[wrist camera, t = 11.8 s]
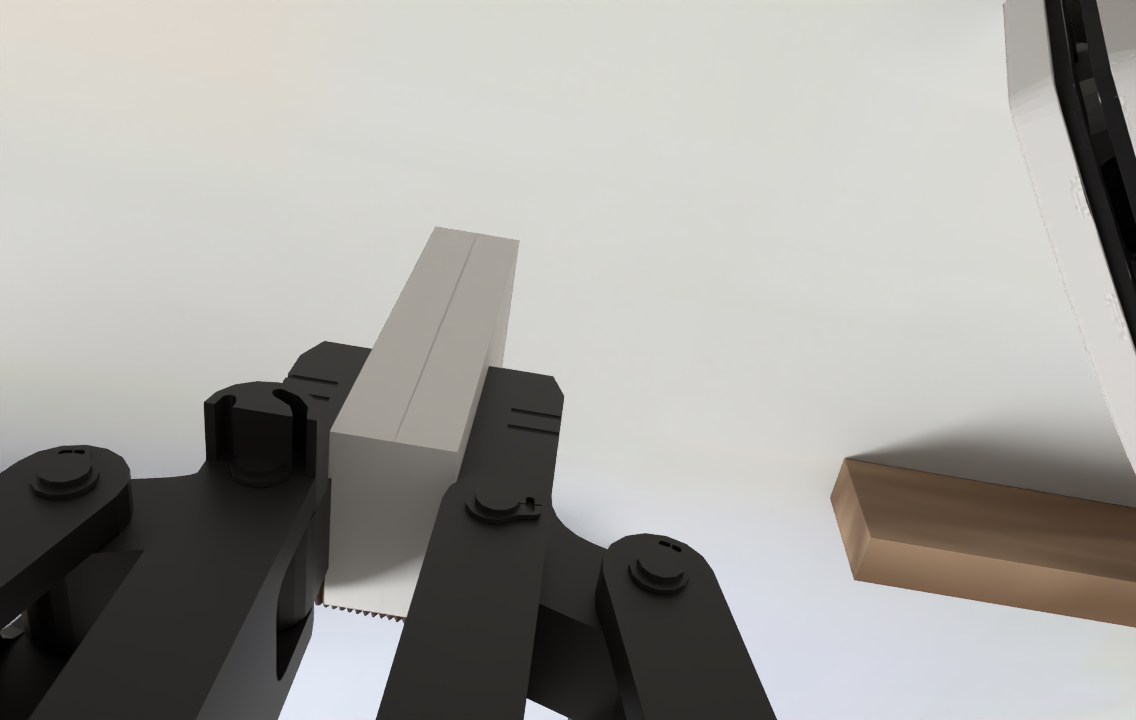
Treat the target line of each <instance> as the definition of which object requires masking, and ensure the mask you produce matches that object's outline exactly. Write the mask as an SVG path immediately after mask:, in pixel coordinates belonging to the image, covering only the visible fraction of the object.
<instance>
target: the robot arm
mask: <svg viewBox="0 0 1136 720" xmlns="http://www.w3.org/2000/svg"><path fill="white" fill-rule="evenodd" d="M518 247H519V240H513V239H507V238H501V237H495V236H489V235H483V234H477V233H471V232H466V231H460V230H454V229H448V228H442V227H435V228H434V230H433V232H432V234H431V236H430V238H429V240H428V242H427V244H426V246H425V248H424V250H423V252H422V254H421V256H420V258H419V259H418V261H417V263H416V265H415V267H414V269H413V271H412V273H411V275H410V277H409V279H408V281H407V283H406V285H405V287H404V288H403V290H402V292H401V294H400V296H399V298H398V300H397V302H396V304H395V306H394V308H393V310H392V312H391V314H390V316H389V318H388V319H387V321H386V323H385V325H384V327H383V329H382V331H381V333H380V335H379V337H378V339H377V341H376V343H375V345H374V347H373V348H372V349H370V348H363V347H357V346H351V345H345V344H339V343H333V342H327V341H324V342H322V343H320V344H318V345H317V346H315V347H313V348H312V349H310V350H308V351H307V352H305V353H303V354H301V355H300V356H299V358H298V359H297V361H296V363H295V364H294V366H293V367H292V369H291V370H290V372H289V373H288V378H285V379H284V381H283V383H278V382H260V381H256V382H249V383H242V384H235V385H233V386H230V387H227V388H225V389H222V390H220V391H217V392H216V393H214V394H213V395H212V396H211V397H210V398H208V399H207V400H206V401H205V402H204V419H205V441H206V461H205V463H204V464H203V466H202V467H201V469H200V470H199V471H198V473H195V474H191V475H187V476H178V477H169V478H148V479H131V475H130V468H129V467H128V465H127V464H126V462H125V460H124V459H123V457H121V456H119V455H118V454H116V453H114V452H112V451H110V450H108V449H105V448H100V447H94V446H89V445H74V446H60V447H56V448H52V449H47V450H43V451H39V452H37V453H35V454H32V455H30V456H28V457H26V458H24V459H22V460H20V461H18V462H16V463H15V464H13V465H12V466H10V467H9V468H7V469H6V470H4V471H3V472H1V473H0V720H278V717H279V715H280V712H281V710H282V707H283V705H284V702H285V700H286V698H287V695H288V693H289V690H290V688H291V685H292V683H293V680H294V678H295V675H296V673H297V670H298V668H299V665H300V663H301V660H302V658H303V655H304V653H305V650H306V648H307V645H308V643H309V640H310V638H311V636H312V629H313V621H314V601H315V599H316V596H317V594H318V592H319V589H320V587H321V584H322V582H323V580H324V577H325V585H324V604H326V605H333V606H339V607H345V608H351V609H358V610H364V611H370V612H376V613H383V614H389V615H395V616H401V617H406V620H405V624H404V627H403V630H402V634H401V637H400V640H399V644H398V647H397V650H396V654H395V657H394V660H393V664H392V667H391V670H390V674H389V677H388V680H387V684H386V687H385V690H384V694H383V697H382V700H381V704H380V707H379V710H378V714H377V717H376V720H524V713H525V705H526V698H527V699H530V700H532V701H534V702H536V703H538V704H540V705H542V706H544V707H547V708H549V709H551V710H553V711H555V712H557V713H559V714H561V715H564V716H566V717H568V720H777V719H776V716H775V714H774V712H773V709H772V707H771V705H770V702H769V700H768V698H767V695H766V693H765V691H764V688H763V686H762V684H761V681H760V679H759V677H758V674H757V672H756V670H755V667H754V665H753V663H752V660H751V658H750V656H749V653H748V651H747V649H746V646H745V644H744V642H743V639H742V637H741V635H740V632H739V630H738V628H737V625H736V623H735V621H734V618H733V616H732V614H731V611H730V609H729V607H728V604H727V602H726V600H725V597H724V595H723V593H722V590H721V588H720V586H719V583H718V581H717V579H716V576H715V574H714V572H713V570H712V569H711V567H710V566H709V564H708V563H707V562H706V560H705V559H704V557H703V556H702V555H700V554H699V553H698V552H696V551H695V550H694V549H692V548H691V547H690V546H688V545H687V544H685V543H682V542H680V541H677V540H675V539H672V538H670V537H667V536H662V535H654V534H647V533H644V534H637V535H630V536H625V537H623V538H621V539H620V540H618V541H616V542H614V543H612V544H611V545H610V547H609V548H608V549H605V548H603V547H600V546H598V545H595V544H593V543H591V542H589V541H587V540H585V539H583V538H581V537H579V536H577V535H576V534H574V533H573V532H572V531H571V530H569V529H568V528H567V527H565V526H564V524H563V523H562V522H561V521H560V520H559V518H558V517H557V516H556V513H555V511H554V509H553V507H552V497H551V495H552V487H553V479H554V471H555V464H556V456H557V448H558V441H559V433H560V425H561V417H562V410H563V402H564V395H563V393H562V391H561V389H560V388H559V386H558V384H557V382H556V381H555V379H554V377H553V376H548V375H541V374H535V373H529V372H523V371H517V370H511V369H505V368H502V364H503V356H504V349H505V342H506V334H507V327H508V320H509V313H510V305H511V298H512V291H513V283H514V276H515V269H516V261H517V254H518ZM20 614H21V615H22V616H20V617H19V618H18V619H17V620H16V621H15V622H13V623H12V624H11V625H10V626H8V627H6V628H4V627H5V626H7V625H8V624H9V623H10V622H11V621H12V620H14V619H15V618H16V617H17V616H18V615H20ZM3 628H4V629H3ZM2 629H3V630H2Z"/></svg>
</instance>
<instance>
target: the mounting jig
mask: <svg viewBox="0 0 1136 720" xmlns="http://www.w3.org/2000/svg"><path fill="white" fill-rule="evenodd" d="M830 499H831V503H832V506H833V509H834V513H835V516H836V520H837V523H838V526H839V530H840V533H841V537H842V540H843V543H844V547H845V550H846V554H847V557H848V560H849V564H850V567H851V571H852V574H853V577H854V580H857V581H863V582H869V583H875V584H881V585H887V586H893V587H899V588H904V589H910V590H916V591H922V592H928V593H934V594H940V595H946V596H952V597H958V598H964V599H970V600H976V601H982V602H988V603H994V604H1000V605H1005V606H1011V607H1017V608H1023V609H1029V610H1035V611H1041V612H1047V613H1053V614H1059V615H1065V616H1071V617H1077V618H1083V619H1089V620H1095V621H1100V622H1106V623H1112V624H1118V625H1124V626H1130V627H1136V508H1132V507H1126V506H1120V505H1114V504H1108V503H1102V502H1096V501H1090V500H1085V499H1079V498H1073V497H1067V496H1061V495H1055V494H1049V493H1043V492H1038V491H1032V490H1026V489H1020V488H1014V487H1008V486H1002V485H996V484H991V483H985V482H979V481H973V480H967V479H961V478H955V477H950V476H944V475H938V474H932V473H926V472H920V471H914V470H908V469H903V468H897V467H891V466H885V465H879V464H873V463H867V462H861V461H856V460H850V459H844V461H843V464H842V467H841V470H840V472H839V475H838V478H837V481H836V483H835V486H834V489H833V492H832V494H831V497H830Z"/></svg>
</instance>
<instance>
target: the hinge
mask: <svg viewBox="0 0 1136 720" xmlns="http://www.w3.org/2000/svg"><path fill="white" fill-rule="evenodd" d="M1079 1H1080V6H1081V12H1082V17H1083V23H1084V28H1085V34H1086V40H1087V43H1081V42H1077V41H1075V36H1074V31H1073V28H1072V25H1071V21H1070V18H1069V15H1068V12H1067V9H1066V5H1065V2H1064V0H1008V1H1007V2H1005V3H1004V4H1003V8H1004V26H1005V44H1006V63H1007V81H1008V99H1009V106H1010V111H1011V116H1012V121H1013V124H1014V127H1015V131H1016V134H1017V137H1018V141H1019V144H1020V148H1021V151H1022V154H1023V158H1024V161H1025V164H1026V168H1027V171H1028V174H1029V178H1030V181H1031V184H1032V187H1033V191H1034V194H1035V197H1036V200H1037V204H1038V207H1039V210H1040V214H1041V217H1042V220H1043V223H1044V226H1045V229H1046V232H1047V235H1048V238H1049V241H1050V245H1051V248H1052V251H1053V254H1054V257H1055V260H1056V263H1057V266H1058V269H1059V272H1060V275H1061V279H1062V282H1063V285H1064V288H1065V291H1066V294H1067V297H1068V300H1069V302H1070V305H1071V308H1072V311H1073V314H1074V317H1075V320H1076V322H1077V325H1078V328H1079V331H1080V334H1081V337H1082V340H1083V342H1084V345H1085V348H1086V351H1087V354H1088V357H1089V359H1090V362H1091V365H1092V368H1093V370H1094V373H1095V376H1096V379H1097V381H1098V384H1099V387H1100V390H1101V392H1102V395H1103V397H1104V400H1105V402H1106V405H1107V407H1108V410H1109V412H1110V415H1111V417H1112V420H1113V423H1114V425H1115V428H1116V430H1117V433H1118V435H1119V438H1120V440H1121V442H1122V445H1123V447H1124V450H1125V452H1126V454H1127V457H1128V459H1129V461H1130V463H1131V465H1132V468H1133V470H1134V472H1135V474H1136V253H1133V252H1129V251H1127V250H1126V246H1125V243H1124V240H1123V237H1122V234H1121V231H1120V228H1119V225H1118V221H1117V218H1116V215H1115V212H1114V209H1113V206H1112V203H1111V200H1110V197H1109V193H1108V190H1107V187H1106V184H1105V181H1104V178H1103V175H1102V172H1101V169H1100V168H1101V166H1102V165H1103V164H1104V163H1105V162H1107V161H1108V160H1110V159H1111V158H1112V157H1116V158H1117V162H1118V165H1119V168H1120V172H1121V175H1122V179H1123V182H1124V186H1125V189H1126V192H1127V196H1128V199H1129V203H1130V206H1131V209H1132V213H1133V216H1134V220H1135V223H1136V0H1079Z"/></svg>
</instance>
